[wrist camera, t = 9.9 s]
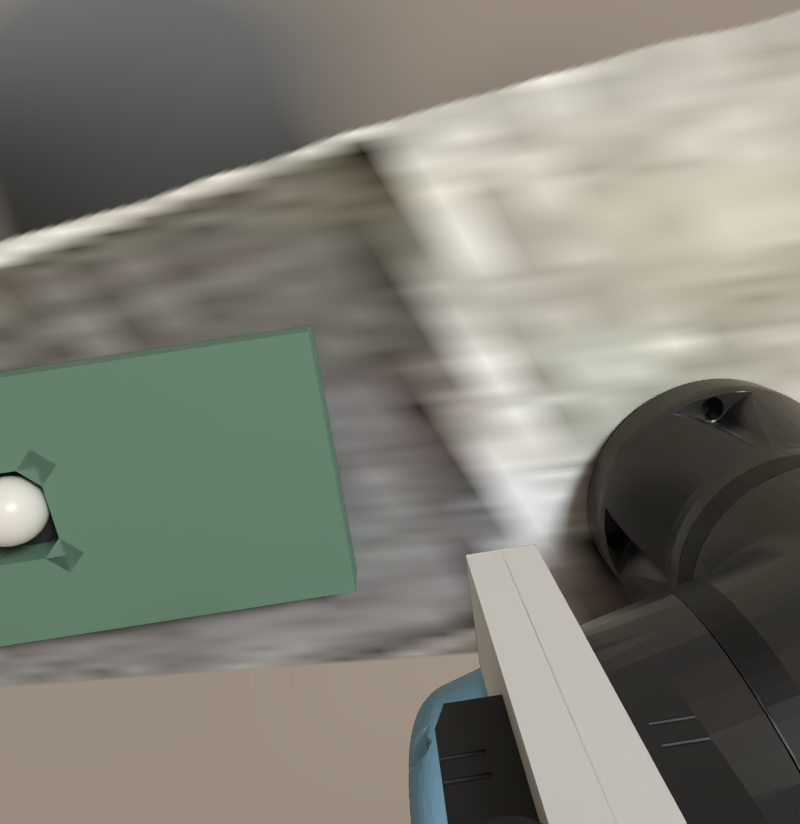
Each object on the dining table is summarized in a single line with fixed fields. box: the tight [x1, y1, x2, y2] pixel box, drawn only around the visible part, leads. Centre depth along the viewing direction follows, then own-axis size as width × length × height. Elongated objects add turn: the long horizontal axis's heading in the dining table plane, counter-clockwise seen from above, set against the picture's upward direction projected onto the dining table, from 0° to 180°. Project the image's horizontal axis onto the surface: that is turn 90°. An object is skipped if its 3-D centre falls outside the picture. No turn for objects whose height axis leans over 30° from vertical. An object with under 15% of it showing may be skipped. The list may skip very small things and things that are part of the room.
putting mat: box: [0, 325, 357, 647], centre depth 37 cm, size 26×16×2 cm, turn 98°
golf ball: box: [0, 476, 50, 547], centre depth 36 cm, size 4×4×4 cm
